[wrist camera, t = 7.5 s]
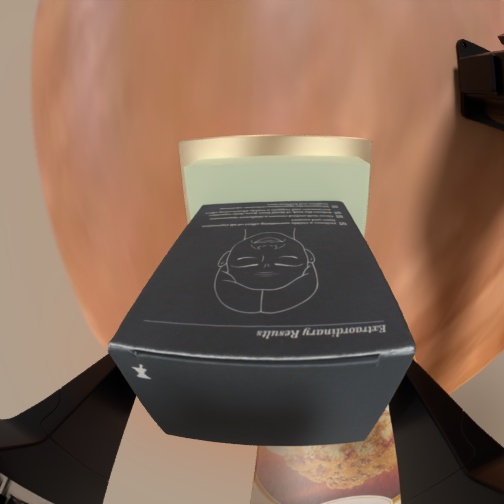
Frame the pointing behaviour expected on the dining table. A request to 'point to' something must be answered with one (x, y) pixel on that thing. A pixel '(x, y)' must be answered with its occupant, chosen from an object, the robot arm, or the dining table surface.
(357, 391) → the box
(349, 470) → the coffeecake box
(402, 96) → the dining table surface
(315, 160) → the upper slab
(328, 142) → the lower slab
